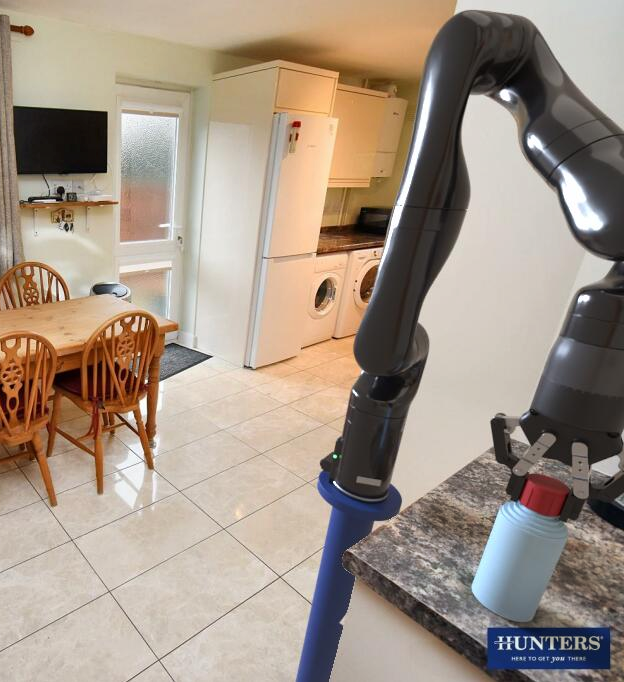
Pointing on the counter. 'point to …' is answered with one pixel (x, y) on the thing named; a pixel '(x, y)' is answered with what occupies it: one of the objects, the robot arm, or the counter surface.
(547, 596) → the counter surface
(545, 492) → the cap
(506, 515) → the bottle
